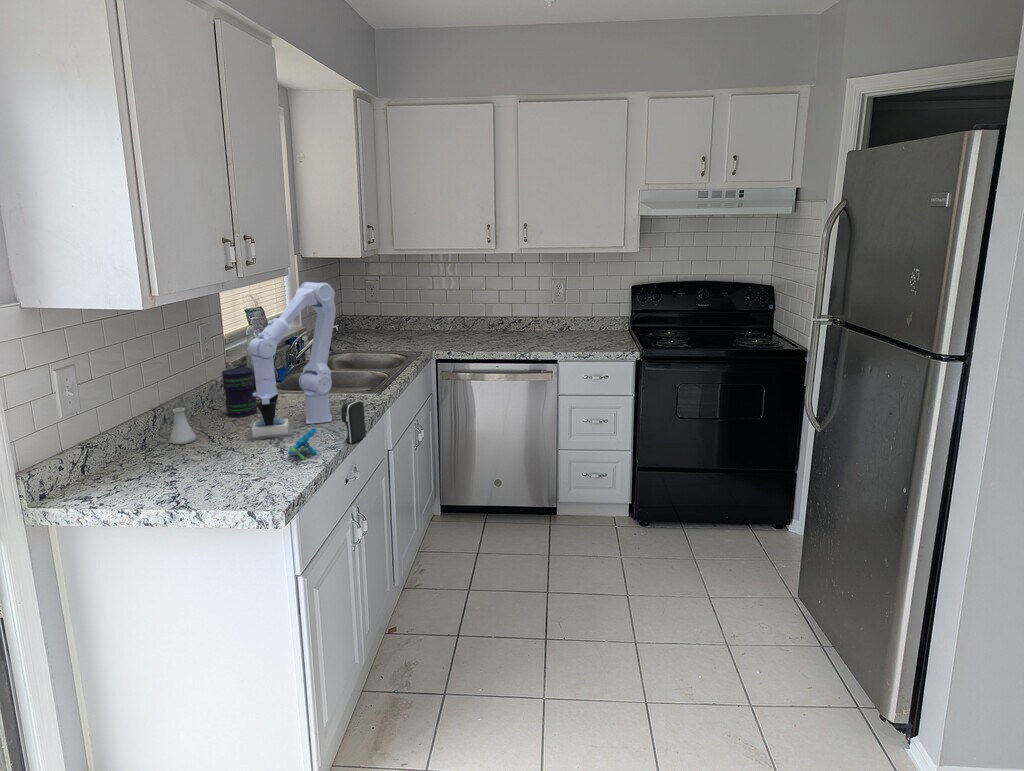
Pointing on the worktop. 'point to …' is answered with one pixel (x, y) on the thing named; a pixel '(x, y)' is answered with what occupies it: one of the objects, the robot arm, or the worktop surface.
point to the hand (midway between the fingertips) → (270, 421)
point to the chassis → (271, 431)
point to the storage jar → (239, 392)
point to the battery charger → (354, 420)
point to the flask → (181, 428)
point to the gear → (303, 444)
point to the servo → (275, 422)
